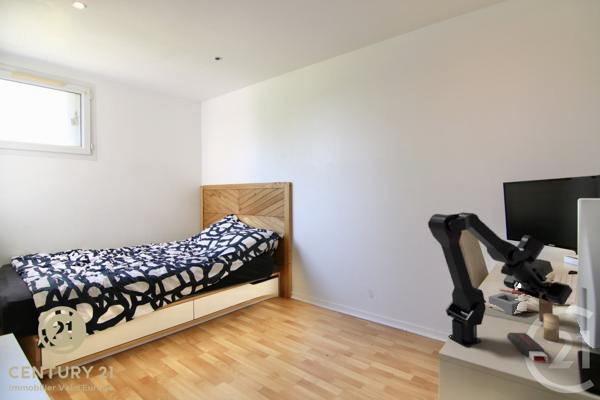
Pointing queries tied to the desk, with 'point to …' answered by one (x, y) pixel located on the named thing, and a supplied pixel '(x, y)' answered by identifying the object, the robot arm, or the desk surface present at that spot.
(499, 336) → the desk surface
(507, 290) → the red screwdriver
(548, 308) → the tall peg
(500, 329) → the desk surface
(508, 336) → the usb drive
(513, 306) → the grey slotted box
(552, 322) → the short peg
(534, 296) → the robot arm
